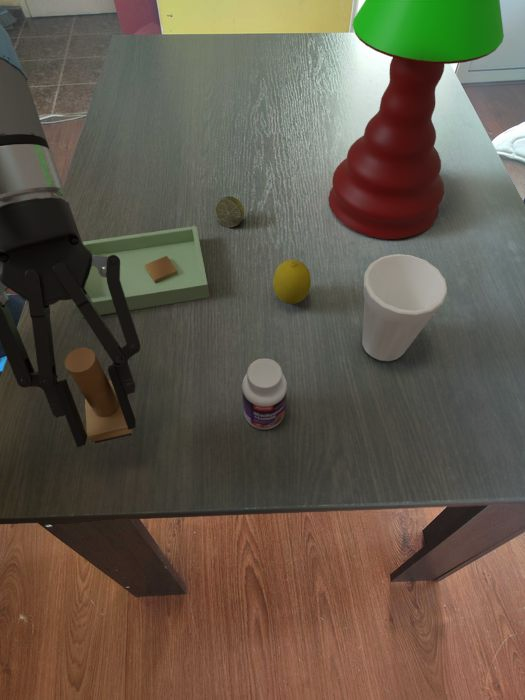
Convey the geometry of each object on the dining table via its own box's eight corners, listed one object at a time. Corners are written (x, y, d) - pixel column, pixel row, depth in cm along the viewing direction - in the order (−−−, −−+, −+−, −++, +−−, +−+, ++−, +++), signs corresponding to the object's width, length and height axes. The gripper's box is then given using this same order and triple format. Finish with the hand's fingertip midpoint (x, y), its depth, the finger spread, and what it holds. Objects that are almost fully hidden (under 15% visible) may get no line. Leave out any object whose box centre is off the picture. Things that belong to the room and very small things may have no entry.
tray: (80, 318, 70) (74, 305, 68) (82, 256, 78) (76, 242, 75) (209, 297, 72) (207, 284, 70) (198, 239, 80) (196, 225, 77)
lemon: (290, 281, 74) (293, 243, 68) (316, 301, 72) (321, 263, 65) (265, 299, 72) (265, 262, 65) (290, 320, 70) (293, 283, 63)
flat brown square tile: (155, 283, 73) (154, 280, 73) (145, 268, 75) (144, 264, 75) (178, 273, 74) (177, 270, 74) (167, 259, 76) (166, 255, 76)
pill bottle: (253, 437, 59) (251, 399, 51) (237, 402, 62) (233, 362, 54) (292, 421, 60) (296, 382, 52) (274, 388, 63) (275, 346, 55)
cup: (342, 319, 70) (356, 255, 59) (408, 315, 70) (434, 250, 59) (355, 376, 64) (373, 316, 53) (426, 371, 64) (459, 311, 54)
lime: (246, 229, 81) (245, 205, 77) (218, 232, 81) (216, 208, 77) (242, 212, 84) (241, 189, 80) (216, 215, 83) (213, 191, 79)
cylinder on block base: (93, 445, 51) (55, 393, 41) (90, 396, 54) (55, 337, 45) (134, 436, 51) (106, 382, 42) (128, 387, 55) (101, 328, 46)
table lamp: (406, 164, 92) (501, -177, 55) (458, 228, 81) (619, -143, 44) (312, 182, 89) (346, -167, 52) (353, 251, 78) (433, -128, 41)
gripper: (119, 192, 49) (185, 397, 53) (-60, 233, 45) (27, 450, 50) (117, 176, 42) (193, 414, 46) (-97, 223, 38) (10, 478, 42)
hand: (107, 432), depth 48 cm, fingers closed on cylinder on block base, 4 cm apart
